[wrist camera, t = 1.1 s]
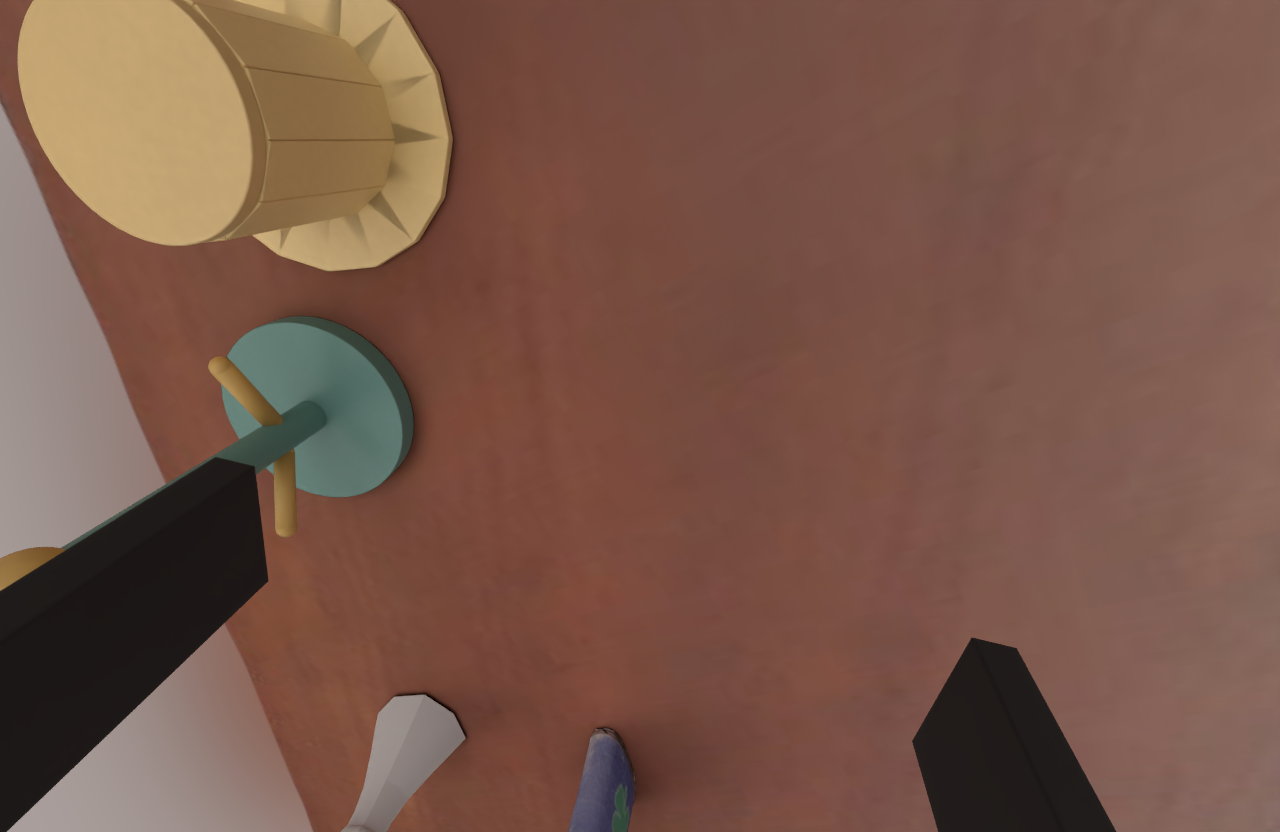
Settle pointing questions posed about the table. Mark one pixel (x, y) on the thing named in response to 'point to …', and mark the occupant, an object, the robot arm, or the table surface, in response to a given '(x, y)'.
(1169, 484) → the table surface
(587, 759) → the flask
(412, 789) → the flask
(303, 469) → the hat stand
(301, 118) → the hat
